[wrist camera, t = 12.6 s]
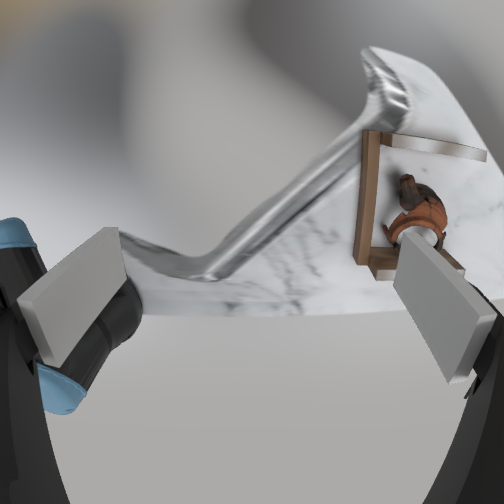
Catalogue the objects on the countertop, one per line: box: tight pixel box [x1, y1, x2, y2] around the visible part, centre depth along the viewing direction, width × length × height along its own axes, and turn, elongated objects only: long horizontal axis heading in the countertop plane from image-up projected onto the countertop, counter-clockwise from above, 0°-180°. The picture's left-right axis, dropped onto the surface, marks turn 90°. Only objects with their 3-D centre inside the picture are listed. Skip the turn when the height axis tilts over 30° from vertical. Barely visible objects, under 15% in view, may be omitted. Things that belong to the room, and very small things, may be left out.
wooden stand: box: [353, 130, 487, 281], centre depth 36 cm, size 16×18×7 cm
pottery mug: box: [384, 174, 447, 255], centre depth 37 cm, size 12×9×8 cm
